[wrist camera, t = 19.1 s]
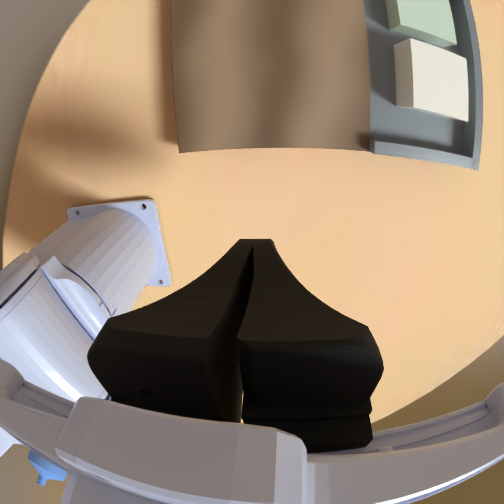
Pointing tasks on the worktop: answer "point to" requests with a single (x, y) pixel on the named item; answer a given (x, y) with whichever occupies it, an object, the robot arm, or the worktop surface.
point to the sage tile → (423, 20)
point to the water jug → (46, 469)
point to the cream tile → (431, 80)
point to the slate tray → (416, 122)
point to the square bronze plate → (270, 74)
